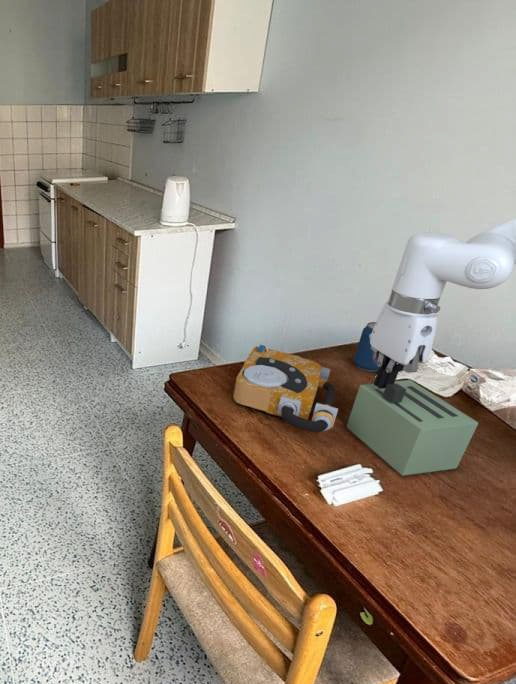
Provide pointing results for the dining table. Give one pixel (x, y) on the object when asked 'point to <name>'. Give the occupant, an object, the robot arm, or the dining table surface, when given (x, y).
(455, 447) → the toaster
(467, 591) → the dining table surface
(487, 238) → the robot arm
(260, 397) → the device
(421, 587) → the dining table surface
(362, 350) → the soda can
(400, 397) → the slider
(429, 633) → the dining table surface
